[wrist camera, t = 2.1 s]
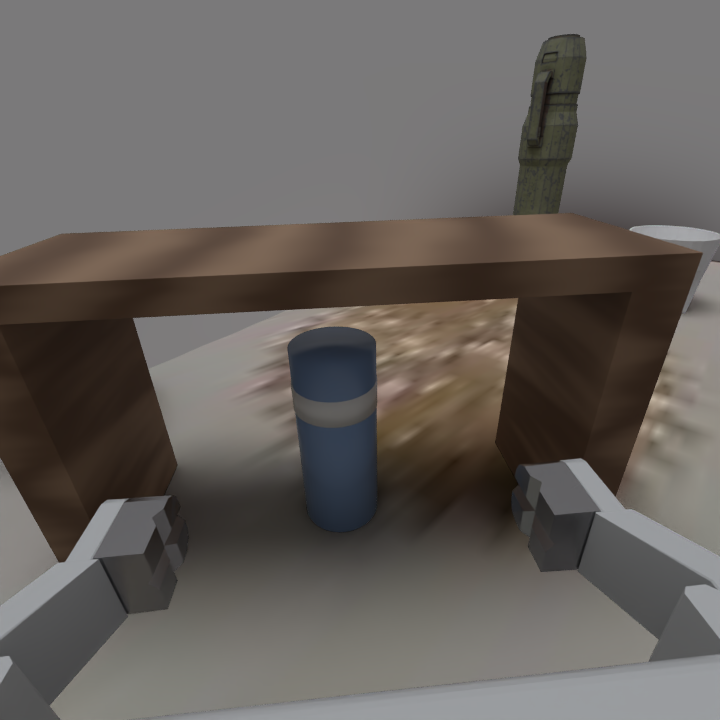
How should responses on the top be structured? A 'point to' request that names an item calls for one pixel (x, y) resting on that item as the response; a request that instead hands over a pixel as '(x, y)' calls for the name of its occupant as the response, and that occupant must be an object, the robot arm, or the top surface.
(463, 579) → the top surface
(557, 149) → the thermos
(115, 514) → the robot arm
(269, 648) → the top surface
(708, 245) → the cup
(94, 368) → the riser
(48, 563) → the top surface
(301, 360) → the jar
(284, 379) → the top surface
